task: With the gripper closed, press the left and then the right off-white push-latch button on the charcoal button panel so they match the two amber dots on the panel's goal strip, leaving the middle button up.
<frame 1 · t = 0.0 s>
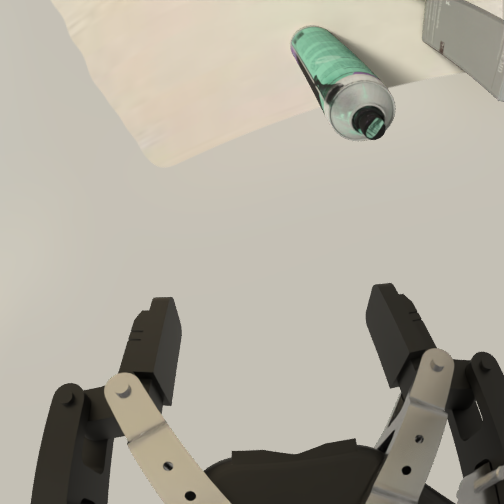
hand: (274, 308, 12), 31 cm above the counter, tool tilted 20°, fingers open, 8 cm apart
skincare box: (443, 20, 24), on the counter
spray can: (312, 44, 30), on the counter
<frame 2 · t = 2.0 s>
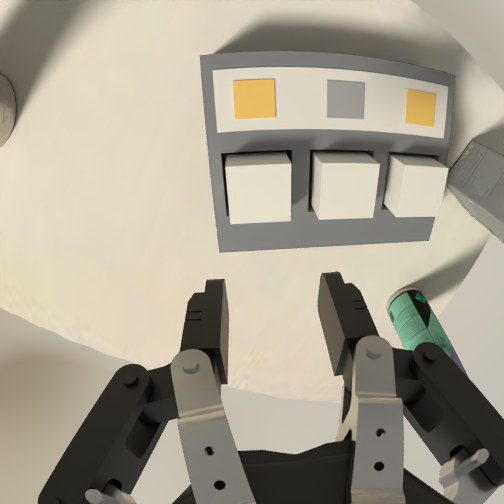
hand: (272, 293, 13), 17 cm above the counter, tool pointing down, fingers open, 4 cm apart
middle button: (343, 184, 22), point 6 cm above the counter, slide at 0.0 cm
skincare box: (473, 177, 28), on the counter
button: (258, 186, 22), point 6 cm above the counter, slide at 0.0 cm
spray can: (403, 300, 38), on the counter
button panel: (326, 141, 26), on the counter
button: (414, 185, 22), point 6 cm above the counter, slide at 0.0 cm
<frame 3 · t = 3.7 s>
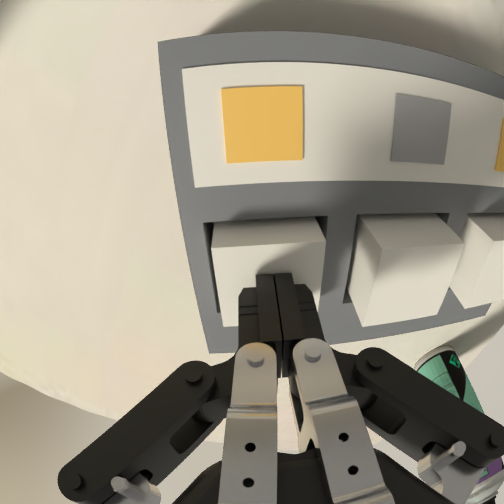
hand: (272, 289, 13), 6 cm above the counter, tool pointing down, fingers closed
middle button: (401, 267, 13), point 6 cm above the counter, slide at 0.0 cm
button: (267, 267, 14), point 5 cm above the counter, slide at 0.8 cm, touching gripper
spray can: (432, 359, 29), on the counter
button panel: (368, 183, 17), on the counter
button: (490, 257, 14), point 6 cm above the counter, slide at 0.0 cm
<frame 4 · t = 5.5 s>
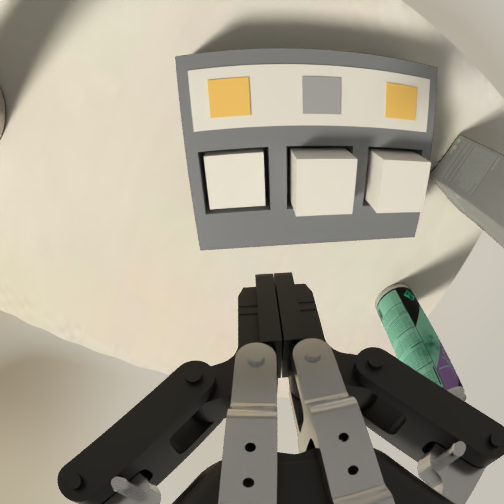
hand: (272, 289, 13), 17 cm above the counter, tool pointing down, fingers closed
middle button: (321, 180, 22), point 6 cm above the counter, slide at 0.0 cm
skincare box: (462, 172, 28), on the counter
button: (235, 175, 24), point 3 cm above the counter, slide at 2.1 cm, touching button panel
spray can: (392, 297, 38), on the counter
button panel: (307, 138, 26), on the counter
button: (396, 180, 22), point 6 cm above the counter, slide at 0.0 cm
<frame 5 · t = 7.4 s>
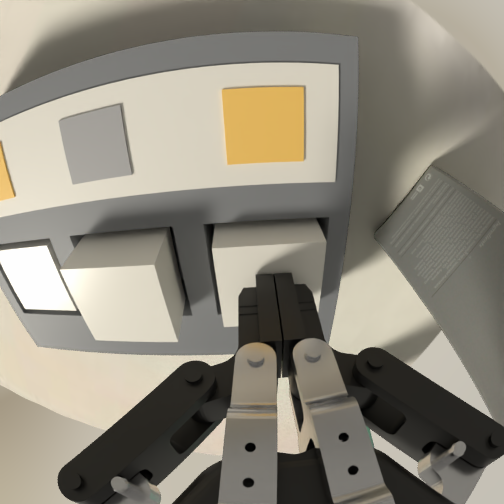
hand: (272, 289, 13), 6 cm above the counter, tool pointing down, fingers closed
middle button: (128, 286, 13), point 6 cm above the counter, slide at 0.0 cm
skincare box: (435, 223, 19), on the counter
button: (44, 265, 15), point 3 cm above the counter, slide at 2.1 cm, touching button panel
button panel: (147, 196, 17), on the counter
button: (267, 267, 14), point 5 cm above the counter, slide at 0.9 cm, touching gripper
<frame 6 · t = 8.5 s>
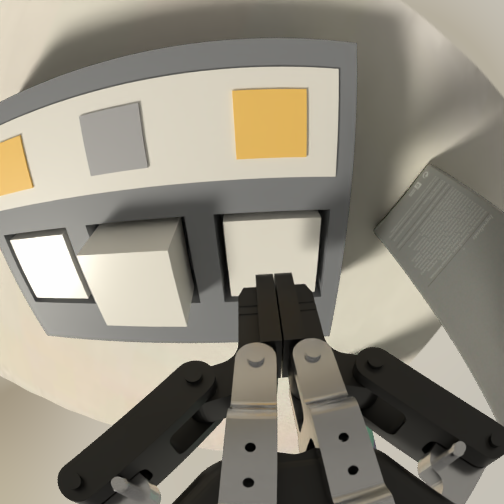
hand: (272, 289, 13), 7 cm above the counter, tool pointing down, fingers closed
middle button: (140, 273, 14), point 6 cm above the counter, slide at 0.0 cm
skincare box: (433, 220, 20), on the counter
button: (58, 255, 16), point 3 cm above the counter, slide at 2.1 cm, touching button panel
button panel: (158, 190, 18), on the counter
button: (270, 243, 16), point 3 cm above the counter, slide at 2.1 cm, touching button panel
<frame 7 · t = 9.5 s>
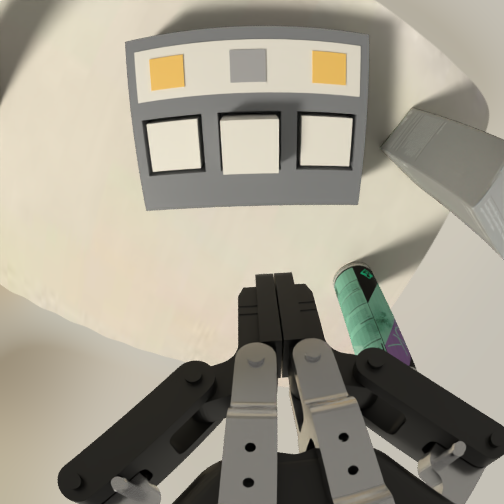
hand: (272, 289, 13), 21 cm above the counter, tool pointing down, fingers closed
middle button: (250, 142, 24), point 6 cm above the counter, slide at 0.0 cm
skincare box: (419, 147, 29), on the counter
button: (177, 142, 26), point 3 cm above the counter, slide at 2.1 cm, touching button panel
spray can: (352, 278, 39), on the counter
button panel: (249, 111, 27), on the counter
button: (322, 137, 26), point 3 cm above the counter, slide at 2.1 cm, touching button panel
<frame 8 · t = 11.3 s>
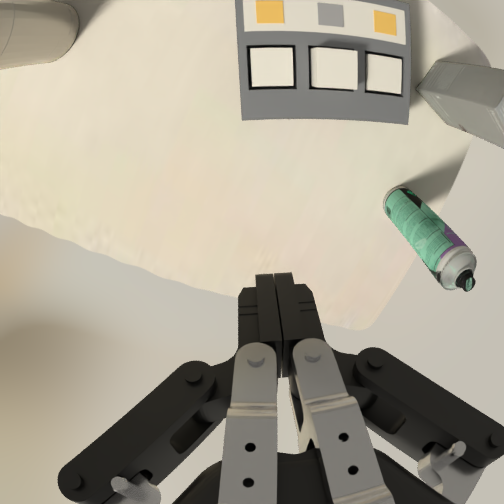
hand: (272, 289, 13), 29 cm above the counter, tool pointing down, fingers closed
middle button: (333, 68, 27), point 6 cm above the counter, slide at 0.0 cm
skincare box: (443, 92, 33), on the counter
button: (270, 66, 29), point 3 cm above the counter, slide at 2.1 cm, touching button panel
spray can: (397, 201, 43), on the counter
button panel: (320, 53, 31), on the counter
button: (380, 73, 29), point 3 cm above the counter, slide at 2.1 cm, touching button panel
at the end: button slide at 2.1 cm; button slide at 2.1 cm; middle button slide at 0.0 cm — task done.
